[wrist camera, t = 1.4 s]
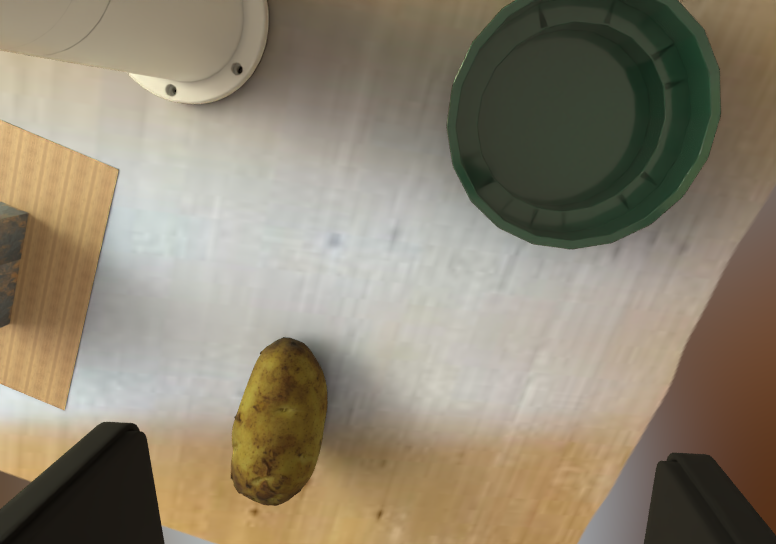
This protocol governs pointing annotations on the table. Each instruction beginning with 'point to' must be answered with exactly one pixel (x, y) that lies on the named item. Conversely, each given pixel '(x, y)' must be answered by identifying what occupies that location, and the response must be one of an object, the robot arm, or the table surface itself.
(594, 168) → the green round dish
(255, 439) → the potato
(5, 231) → the architectural model on board
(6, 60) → the table surface
